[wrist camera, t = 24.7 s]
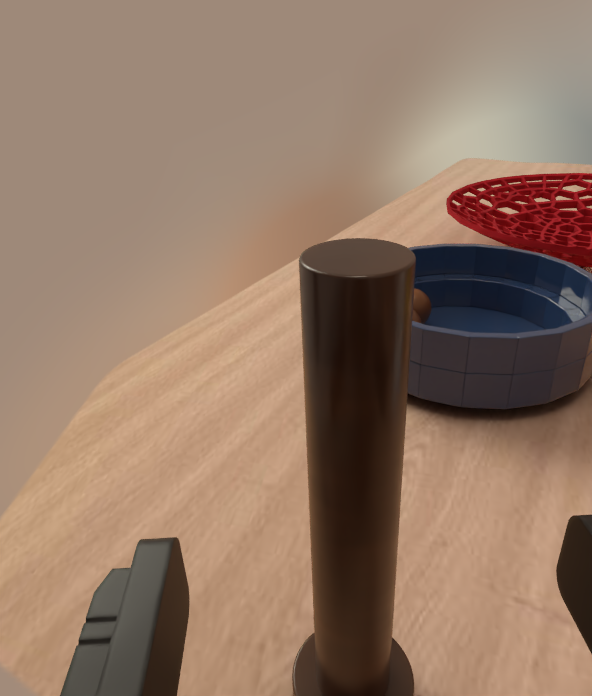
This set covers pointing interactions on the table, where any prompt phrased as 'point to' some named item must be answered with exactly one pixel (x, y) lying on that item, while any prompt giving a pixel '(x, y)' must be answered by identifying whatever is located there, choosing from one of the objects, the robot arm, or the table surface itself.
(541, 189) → the bowl
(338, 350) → the capped post on base
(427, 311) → the hazelnut
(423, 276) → the blue bowl
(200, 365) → the table surface
